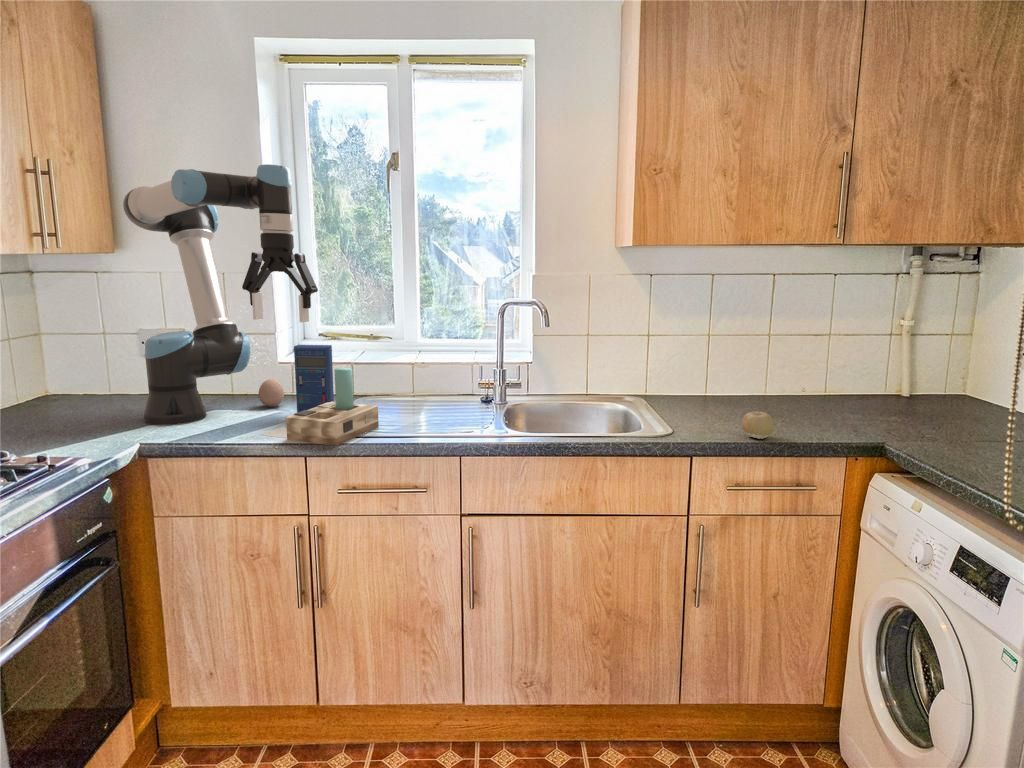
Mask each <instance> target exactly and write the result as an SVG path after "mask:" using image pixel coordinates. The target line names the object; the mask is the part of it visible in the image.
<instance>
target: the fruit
mask: <svg viewBox="0 0 1024 768" xmlns="http://www.w3.org/2000/svg"><path fill="white" fill-rule="evenodd" d="M741 427H742V431H743V432H744V431H745V432H747V433H750V434H755V435H770V434H772V433H773V430H774V421H773V418H772V417H771V415H770V414H768V412H767V413H766V412H765V411H763V407H762V408H760V410H759V411H750V412H747V413H746V414H745V415H744V416H743V417H742V420H741ZM745 432H744V433H745ZM770 436H771V435H770Z"/></svg>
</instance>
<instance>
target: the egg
mask: <svg viewBox="0 0 1024 768" xmlns="http://www.w3.org/2000/svg"><path fill="white" fill-rule="evenodd" d="M284 398H285V390H284V387H283V386H282V384H281V383H280V382H279V381H278V380H276V379H274V378H269V379H266V380H265V381H263V382H262V383H261V384H260V386H259V389H258V400H259V401H260V402H261V404H263V405H264V406H266V407H269V408H273V407H277V406H279V405H280V404H281V403H282V402H283V400H284Z"/></svg>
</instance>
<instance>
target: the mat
mask: <svg viewBox="0 0 1024 768" xmlns="http://www.w3.org/2000/svg"><path fill="white" fill-rule="evenodd" d="M260 436H265V437H270V438H271V437H273V438H281V439H287V427H283V426H281V427H277V428H275V429H271V430H270V431H266V432H264V433H261V434H260Z"/></svg>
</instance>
